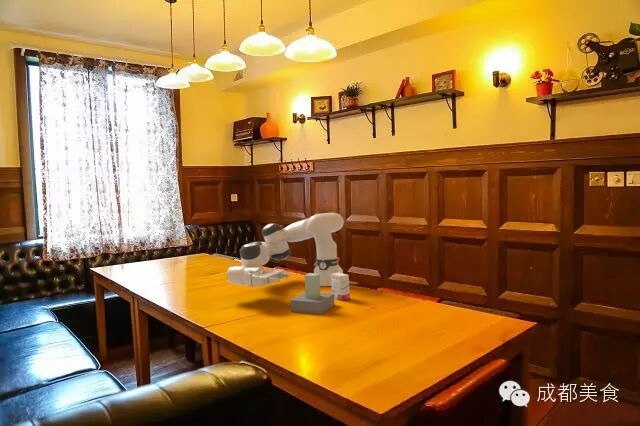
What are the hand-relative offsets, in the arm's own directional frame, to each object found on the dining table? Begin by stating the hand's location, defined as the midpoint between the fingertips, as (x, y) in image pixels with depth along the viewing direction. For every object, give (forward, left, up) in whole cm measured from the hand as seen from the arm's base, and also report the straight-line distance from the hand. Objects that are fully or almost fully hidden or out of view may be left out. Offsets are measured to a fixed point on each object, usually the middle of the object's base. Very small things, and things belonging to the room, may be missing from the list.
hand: (284, 278), depth 202 cm
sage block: (0, +14, -7) cm, 16 cm away
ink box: (-19, +20, -13) cm, 30 cm away
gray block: (0, +14, -12) cm, 19 cm away
